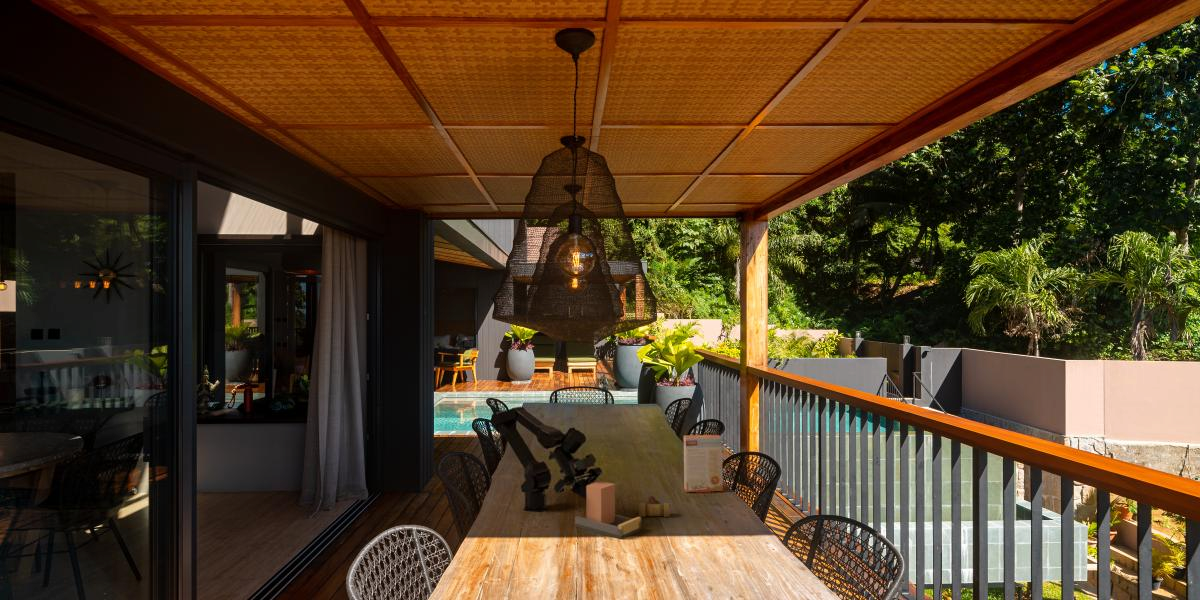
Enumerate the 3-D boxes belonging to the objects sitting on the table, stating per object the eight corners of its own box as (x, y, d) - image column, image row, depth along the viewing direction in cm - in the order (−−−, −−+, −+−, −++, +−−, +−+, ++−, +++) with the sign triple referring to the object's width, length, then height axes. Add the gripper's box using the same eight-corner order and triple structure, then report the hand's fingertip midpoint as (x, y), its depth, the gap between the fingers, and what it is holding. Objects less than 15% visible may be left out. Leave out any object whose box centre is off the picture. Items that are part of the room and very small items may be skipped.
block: (586, 523, 205) (586, 485, 206) (600, 517, 211) (600, 481, 211) (601, 527, 202) (601, 488, 202) (614, 521, 207) (614, 484, 207)
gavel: (637, 491, 236) (665, 491, 236) (637, 504, 236) (665, 504, 235) (639, 504, 215) (669, 504, 215) (639, 518, 215) (669, 519, 214)
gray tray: (575, 526, 206) (575, 513, 206) (595, 518, 214) (595, 506, 214) (621, 539, 195) (621, 525, 195) (640, 530, 203) (640, 517, 203)
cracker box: (719, 488, 250) (719, 434, 250) (722, 492, 244) (722, 437, 244) (683, 488, 250) (683, 434, 250) (685, 493, 244) (685, 437, 244)
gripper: (560, 452, 205) (587, 493, 198) (598, 442, 219) (624, 480, 212) (542, 473, 210) (568, 514, 202) (580, 462, 224) (605, 500, 217)
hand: (592, 501), depth 208 cm, fingers closed, pressing on block
